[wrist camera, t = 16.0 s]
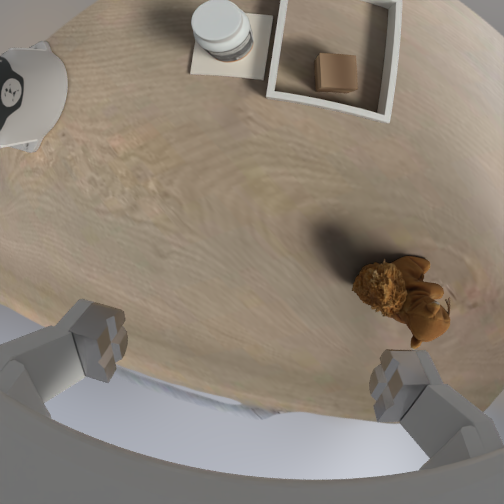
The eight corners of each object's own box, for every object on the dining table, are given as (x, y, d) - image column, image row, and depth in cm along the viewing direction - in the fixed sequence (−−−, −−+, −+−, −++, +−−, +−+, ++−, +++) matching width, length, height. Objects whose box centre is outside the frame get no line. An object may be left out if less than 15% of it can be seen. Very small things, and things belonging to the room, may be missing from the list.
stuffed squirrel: (407, 314, 44) (436, 370, 32) (333, 293, 43) (350, 354, 31) (436, 263, 40) (478, 310, 28) (362, 233, 39) (394, 281, 27)
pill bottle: (204, 28, 29) (181, 2, 20) (250, 20, 28) (242, -11, 19) (211, 68, 31) (188, 51, 22) (258, 59, 31) (251, 38, 22)
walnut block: (315, 91, 32) (321, 87, 28) (314, 61, 31) (319, 52, 26) (347, 93, 32) (357, 89, 27) (345, 63, 30) (355, 55, 26)
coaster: (191, 74, 32) (190, 74, 32) (201, 13, 28) (200, 11, 28) (263, 80, 32) (263, 79, 32) (273, 17, 28) (273, 15, 28)
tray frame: (266, 98, 33) (266, 96, 30) (284, -20, 26) (285, -30, 23) (381, 122, 33) (389, 123, 30) (394, 6, 26) (402, -1, 23)
